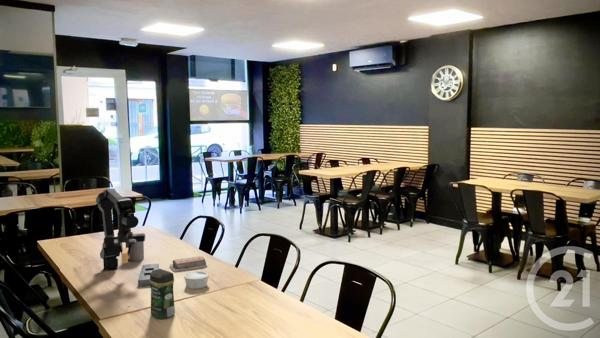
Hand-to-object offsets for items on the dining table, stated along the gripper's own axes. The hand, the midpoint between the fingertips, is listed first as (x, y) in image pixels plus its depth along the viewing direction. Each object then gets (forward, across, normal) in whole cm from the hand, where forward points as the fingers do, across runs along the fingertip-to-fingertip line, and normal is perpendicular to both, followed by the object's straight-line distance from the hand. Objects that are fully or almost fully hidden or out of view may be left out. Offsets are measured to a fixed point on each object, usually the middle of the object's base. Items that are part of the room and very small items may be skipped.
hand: (125, 255), depth 229 cm
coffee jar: (+12, +20, -48) cm, 53 cm away
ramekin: (+12, +34, -17) cm, 40 cm away
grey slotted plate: (+12, +11, 0) cm, 16 cm away
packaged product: (+13, +30, +13) cm, 35 cm away
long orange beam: (+2, 0, 0) cm, 2 cm away
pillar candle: (+12, +1, +33) cm, 35 cm away
